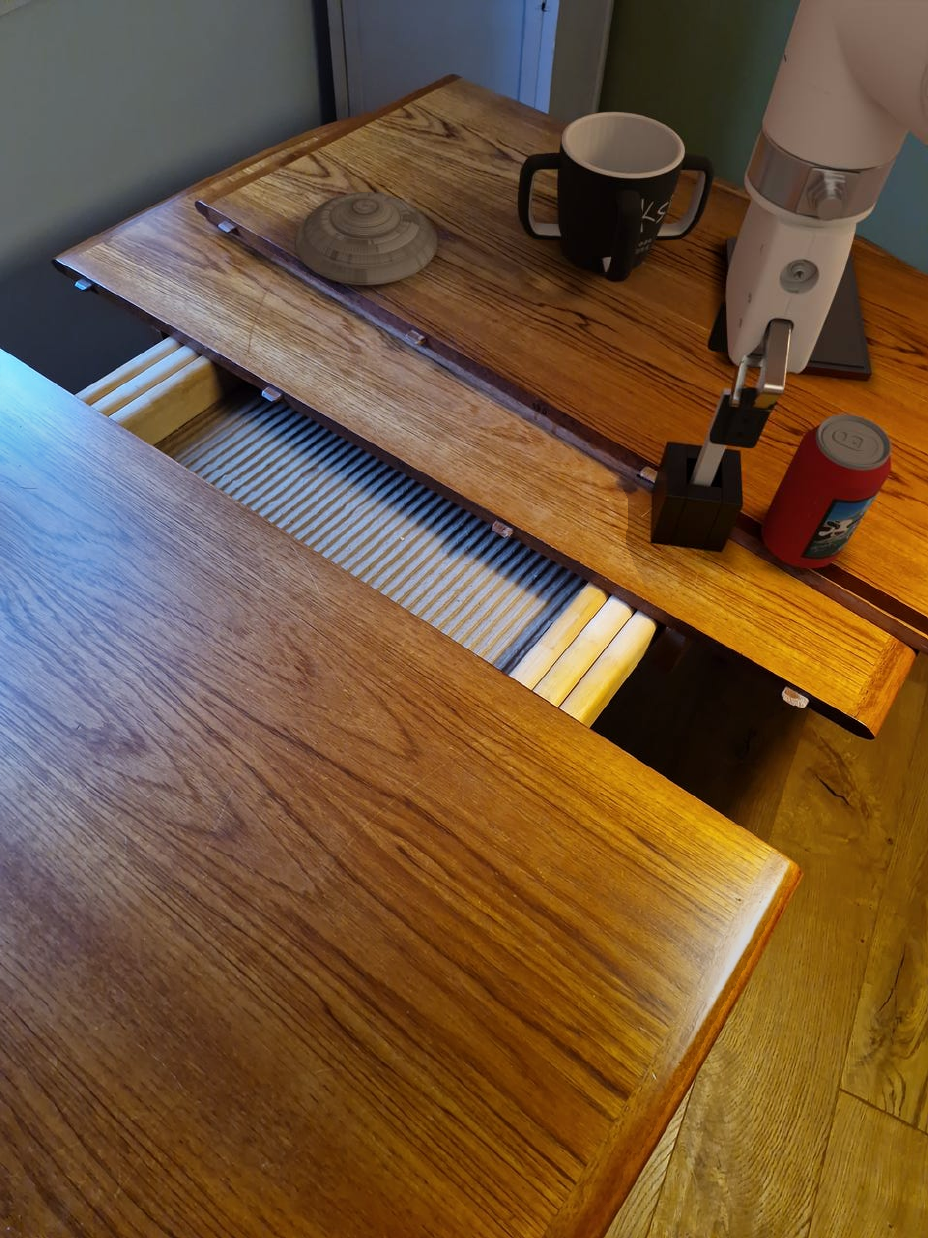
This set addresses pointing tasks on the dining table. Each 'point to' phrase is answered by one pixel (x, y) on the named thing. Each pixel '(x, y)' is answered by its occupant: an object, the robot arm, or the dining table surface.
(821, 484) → the beverage can
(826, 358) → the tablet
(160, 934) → the dining table surface
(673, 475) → the pen holder
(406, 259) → the flying saucer
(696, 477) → the stylus
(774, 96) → the robot arm
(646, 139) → the mug
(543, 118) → the dining table surface
